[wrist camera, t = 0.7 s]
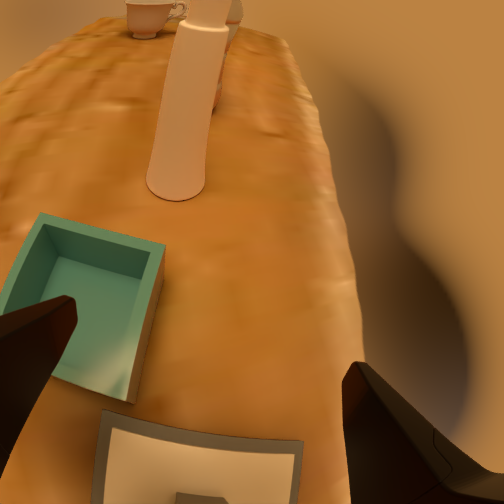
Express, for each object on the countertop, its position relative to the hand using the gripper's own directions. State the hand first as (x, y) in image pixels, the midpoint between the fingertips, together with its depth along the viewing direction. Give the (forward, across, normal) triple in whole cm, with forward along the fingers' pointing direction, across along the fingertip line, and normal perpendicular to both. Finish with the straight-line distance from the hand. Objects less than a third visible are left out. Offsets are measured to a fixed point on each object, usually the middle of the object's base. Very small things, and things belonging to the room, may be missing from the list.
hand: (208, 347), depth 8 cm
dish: (+8, +10, +8) cm, 15 cm away
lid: (-2, -1, +15) cm, 16 cm away
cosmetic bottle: (+22, +8, 0) cm, 23 cm away
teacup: (+59, +32, -28) cm, 72 cm away
